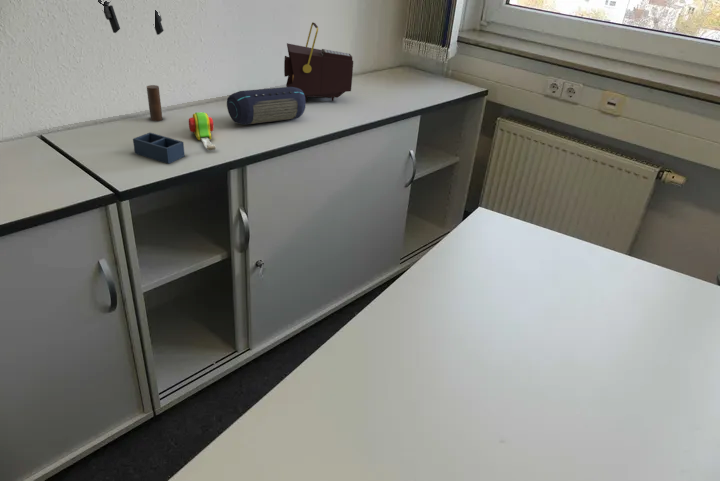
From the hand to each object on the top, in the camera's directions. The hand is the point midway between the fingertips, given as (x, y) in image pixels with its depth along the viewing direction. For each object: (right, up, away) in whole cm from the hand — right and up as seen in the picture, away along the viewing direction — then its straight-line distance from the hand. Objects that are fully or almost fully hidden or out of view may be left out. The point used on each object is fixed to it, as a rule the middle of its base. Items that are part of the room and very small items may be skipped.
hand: (139, 31), depth 155 cm
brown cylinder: (+1, -23, +10) cm, 25 cm away
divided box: (+11, -37, -13) cm, 41 cm away
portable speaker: (+34, -22, +16) cm, 44 cm away
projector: (+47, -9, +40) cm, 63 cm away
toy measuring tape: (+19, -31, -1) cm, 37 cm away
